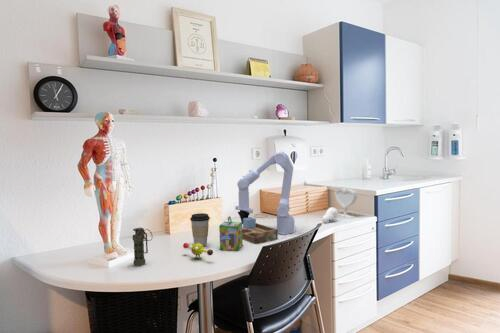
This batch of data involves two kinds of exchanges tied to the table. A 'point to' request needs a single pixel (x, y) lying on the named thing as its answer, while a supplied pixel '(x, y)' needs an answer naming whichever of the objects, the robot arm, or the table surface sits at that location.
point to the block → (249, 223)
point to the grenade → (139, 246)
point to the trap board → (259, 234)
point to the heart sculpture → (345, 199)
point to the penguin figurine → (330, 215)
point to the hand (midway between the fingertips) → (244, 224)
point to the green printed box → (230, 235)
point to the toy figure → (197, 249)
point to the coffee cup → (200, 228)
